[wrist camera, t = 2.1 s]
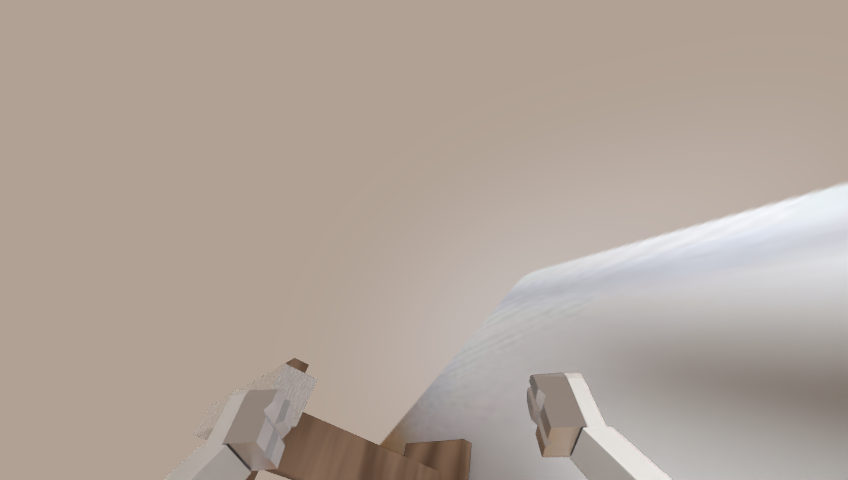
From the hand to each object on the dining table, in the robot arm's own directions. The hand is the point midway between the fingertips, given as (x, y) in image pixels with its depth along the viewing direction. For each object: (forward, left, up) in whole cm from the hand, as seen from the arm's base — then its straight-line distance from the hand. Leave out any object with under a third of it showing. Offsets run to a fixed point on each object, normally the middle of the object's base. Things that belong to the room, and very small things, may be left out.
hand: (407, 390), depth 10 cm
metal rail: (+13, -21, -2) cm, 25 cm away
